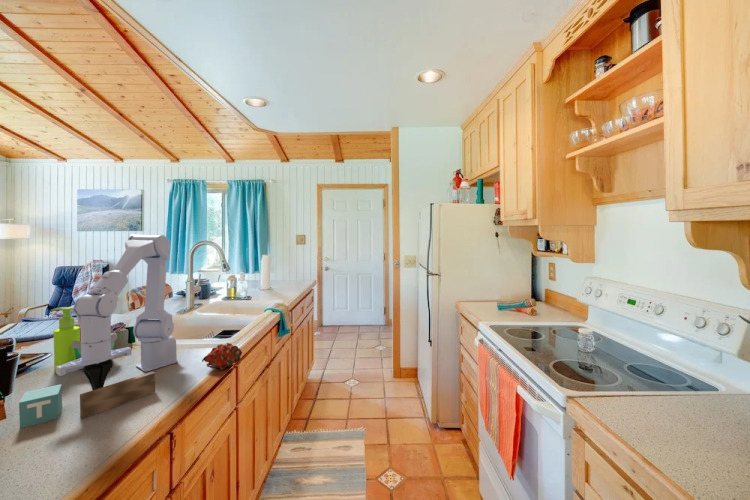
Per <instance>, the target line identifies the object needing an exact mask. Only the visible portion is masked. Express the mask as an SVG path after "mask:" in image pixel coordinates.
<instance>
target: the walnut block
mask: <svg viewBox="0 0 750 500" xmlns="http://www.w3.org/2000/svg"><path fill="white" fill-rule="evenodd" d="M154 393H156V372H154V371H153V370H151V371H148V372H145V373H144V374H140V375H137V376H134V377H130V378H126V379H124V380H122V381H118V382H114V383H112V384H109V385H106V386H105V385H104V386H103V387H102V388H99V389H96V390H92V389H91V390H89V391H86V392H83V393H80V394H79V415H80V418H81V419H82V420H83V419H85V418H89V417H92V416H94V415H97V414H99V413H102V412H105V411H107V410H109V409H110V410H111V409H113V408H115V407H116V408H117V407H118V406H121V405H123V404H126V403H130V402H132V401H136V400H137V399H140V398H143V397H145V396H148V395H151V394H154Z"/></svg>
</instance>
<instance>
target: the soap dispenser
mask: <svg viewBox="0 0 750 500" xmlns="http://www.w3.org/2000/svg"><path fill="white" fill-rule="evenodd" d="M50 311H51V312H53V311H62V317H60V318H59V319H58V328H56V329H54V330H53V355H54V356H53V357H54V358H53V361H54V363H53V364H54V366H53V367H54V373H57V370H56V367H57V366H60V365H63V364H66V363H69V362H71V361H74V360H76V359H75V353H74V348H71V346H72V343H73V341H80V327H78V326H74V322H75V317H74V316H72V315H71V311H73V306H71V307H70V306H62V307H55V308H52V309H50Z"/></svg>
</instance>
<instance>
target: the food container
mask: <svg viewBox="0 0 750 500" xmlns="http://www.w3.org/2000/svg"><path fill="white" fill-rule="evenodd" d="M117 339H118V335H117V333H116V331H115V330H112V329H111V350H115V342H116V340H117ZM71 348H74V353H75V359H76V360H77V359H79V358H81V341H73V343H72V346H71ZM113 361H114V359H112V360H111V362H113ZM113 363H114V362H113ZM76 371H77V372H82V370H81V369H78V370H76Z"/></svg>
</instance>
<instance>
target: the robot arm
mask: <svg viewBox="0 0 750 500" xmlns="http://www.w3.org/2000/svg"><path fill="white" fill-rule="evenodd" d="M170 246H171V242H170V241H169V239H168V237H167V236H165V235H163V234H160V235H155V234H154V235H153V234H151V235H150V234H131V235H129V237H128V238H127V240H126V241H125V243H124V247H125V251H124V252H123V254H122V255H121V257H120V259H119V260H118V261H117V263H116V264H115V266H114V267H113V269H112V270H108V271H105V272H104V273H103V274H102V275H101V277H100V278H99V279H98V281H97V282H96V283H95V285H93V287H92V288H91V289H90V290H89V292H88V293H87V294H84V295H81V296H79V298H78V299H76V301H75V303H74V305H73V306H72V308H73V310H72V313H73V315H75V317H76V318H77V322H79V324H81V358H79V359H77V360H74V361H71V362H69V363H66V364H63V365H60V366H57V367H56V370H57V372H56V375H58V376H64V375H66V374H68V373H72V372H76V371H77V370H78V369H81V370H82V371H81V372H82V374H84V375H85V377H86V378H87V380H88V382H89V384H90V386H91V391H92V390H96V389H99V388H102V387H105V382H106V380H107V377H108V375H109V373H110V371H112V369H113V367H114V362H111V360H112V359H113V360H115V359H118V358H122V357H129V356H132V348H131V347H128V346H126V347H122V348H117V349H114V350H111V330H112V325H111V317H112V316H111V315H113V313H114V312H115V311H116V309H117V304H118V301H119V296H120V293H121V292H122V291H123V290H124V288H125V287H126V286H127V284H128V282H129V279H128V275H129V274H130V273H131V271H132V270H133V269H134V268H135V267H136V266H137V265H138V263H140V261H141V260H143V261H144V262H145V263H146V264H147V266H146V267H147V268H146V269H147V270H146V283H145V284H146V285H145V286H146V287H145V301H144V310H143V312H141V313H140V314H138V315H137V317H136V321H135V323H134V326H133V330H132V331H133V336H134V337H135V339H137V342H140V363H137V364H135V367H136V368H138V369H140V370H141V371H143V372H144V373H149V372H152V371H153V370H156V369H160V368H163V367H166V366H169V365H173V364H176V363H178V360H177V359H178V357H177V355H178V354H177V340H176V338H175V336H174V335H172V334H173V332H174V330H175V326H174V324H175V323H174V322H173V315H172V314H171V313H170V312H168V311H167V310H165V297H166V280H167V263H168V261H169V260H170V251H171V247H170Z"/></svg>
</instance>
